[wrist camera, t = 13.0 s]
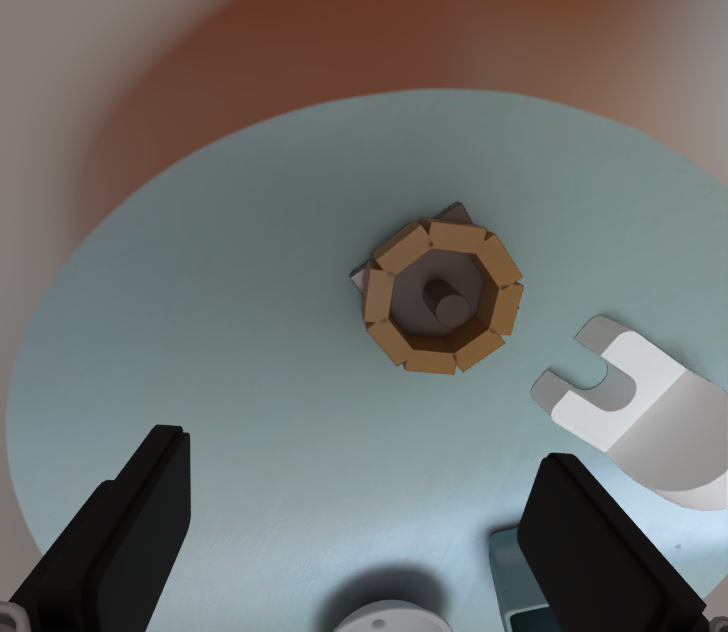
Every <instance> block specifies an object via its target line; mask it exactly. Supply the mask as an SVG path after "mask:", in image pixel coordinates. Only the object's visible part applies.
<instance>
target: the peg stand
mask: <svg viewBox="0 0 728 632" xmlns="http://www.w3.org/2000/svg"><path fill="white" fill-rule="evenodd" d="M432 219H438V220H446V221H454V222H462V223H470V224H473V223H472V221H471V219H470V217H469V215H468V214H467V212H466V210H465V208H464V206H463V204H462V203H459V202H456V203H455V204H453V205H452V206H450V207H449V208H447V209H446V210H444V211H443V212H441V213H440V214H438V215H437V216H435V217H434V218H432ZM370 261H374V262H376V260H375V258H373V259H371V260H370ZM366 267H367V263H365V264H364V265H362V266H361V267H359V268H358V269H356V270H355V271H354V272H352V273H351V274H350V278H351V280H352V281H353V283H354V284H355V286H356V287H357V288H358V290H359V291H360V293H361V294H362V296H363V291H364V283H365V275H366ZM484 279H485V278H484V277H483V275H482V274H481V273H480V271H479V270H478V268H477V267H476V265H475V264H474V262H473V261H472V259H471V258H470V256H469V255H468V254H467V253H464V252H456V251H447V250H439V249H430V250H429V251H428V252H426V253H425V254H424V255H422V256H421V257H420V258H419V259H417V260H416V261H415V262H413V263H412V264H411V265H409V266H408V267H407V268H406V269H404V270H403V271H402V272H400V273H399V274H398V275H396V276H395V279H394V286H393V292H392V299H391V306H390V312H389V313H390V315H391V316H392V317H393V318H394V320H395V321H396V322H397V323H398V325H399V326H400V327H401V328H402V329H403V331H404V332H405V333H406V334H407V335H412V336H422V337H433V338H446V337H447V336H448V335H450V334H451V333H453V332H454V331H455V330H457V329H458V328H460V327H461V326H462V325H464V324H465V323H467V322H468V321H469V320H471V319H472V318H474V317H475V316H476V314H477V309H478V305H479V301H480V296H481V292H482V288H483V283H484ZM518 309H519V306H518Z"/></svg>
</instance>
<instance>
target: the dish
mask: <svg viewBox="0 0 728 632" xmlns="http://www.w3.org/2000/svg"><path fill="white" fill-rule="evenodd" d="M333 632H453V631H452V629H451V627H450V625H449V624H448V623H447V622H446V621H445V620H444V619H443V618H442V617H440V616H439V615H437V614H436V613H434V612H431V611H429V610H426V609H423V608H421V607H420V606H417V605H415V604H413V603H410V602H406V601H402V600H381V601H377V602H373V603H370V604H367V605H365V606H363V607H361V608H359V609H358V610H356V611H354V612H353V613H352V614H350V615H349V616H348V617H346V618H345V619H344V620H343V621H342V622H341V623H340V624H339V625H338V626H337V627H336V628H335V630H334V631H333Z"/></svg>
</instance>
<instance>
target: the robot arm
mask: <svg viewBox="0 0 728 632" xmlns="http://www.w3.org/2000/svg"><path fill="white" fill-rule="evenodd" d="M190 519H191V483H190V435H189V433H184V432H183V429H182V427H181V426H172V425H155V426H154V427H153V429H152V430H151V431H150V433H149V434H148V435H147V437H146V438H145V439H144V441H143V442H142V444H141V445H140V446H139V448H138V449H137V450H136V452H135V453H134V454H133V456H132V457H131V458H130V460H129V461H128V462H127V464H126V465H125V466H124V468H123V469H122V470H121V472H120V473H119V475H118V476H117V477H116V479H115V480H106V481H104V482H102V483H101V484H100V485H99V486H98V487H97V488H96V490H95V491H94V492H93V493H92V495H91V496H90V497H89V499H88V500H87V501H86V502H85V504H84V505H83V506H82V508H81V509H80V510H79V511H78V513H77V514H76V515H75V517H74V518H73V519H72V520H71V522H70V523H69V524H68V526H67V527H66V528H65V529H64V531H63V532H62V533H61V535H60V536H59V537H58V538H57V540H56V541H55V542H54V543H53V545H52V546H51V547H50V549H49V550H48V551H47V552H46V554H45V555H44V556H43V558H42V559H41V560H40V562H39V563H38V564H37V565H36V567H35V568H34V569H33V570H32V572H31V573H30V574H29V576H28V577H27V578H26V579H25V581H24V582H23V583H22V585H21V586H20V587H19V588H18V590H17V591H16V592H15V594H14V595H13V596H12V597H11V599H10V600H9V601H8V602H2V601H1V602H0V632H145V631H146V629H147V626H148V624H149V622H150V619H151V617H152V614H153V612H154V610H155V607H156V605H157V603H158V600H159V598H160V595H161V593H162V591H163V588H164V586H165V584H166V581H167V579H168V577H169V574H170V572H171V569H172V567H173V565H174V562H175V560H176V558H177V555H178V553H179V551H180V548H181V546H182V543H183V541H184V539H185V536H186V534H187V531H188V528H189V524H190ZM517 542H518V545H519V547H520V549H521V551H522V553H523V555H524V557H525V559H526V561H527V563H528V565H529V567H530V569H531V571H532V573H533V575H534V577H535V579H536V581H537V583H538V585H539V587H540V589H541V591H542V593H543V595H544V597H545V599H546V601H547V603H548V605H549V607H550V609H551V611H552V613H553V615H554V617H555V619H556V621H557V623H558V625H559V627H560V629H561V631H562V632H728V617H725V616H722V617H714V618H713V619H712V620H711V621H710V622H709V621H708V620H707V619H706V618H705V616H704V615H703V614H702V612H703V611H704V609H705V607H706V606H707V605H706V604H705V603H704V602H703V600H702V599H701V598H700V597H699V596H698V595H697V594H696V592H695V591H694V590H693V589H692V588H691V587H690V586H689V584H688V583H687V582H686V581H685V580H684V579H683V578H682V577H681V575H680V574H679V573H678V572H677V571H676V570H675V569H674V567H673V566H672V565H671V564H670V563H669V562H668V561H667V559H666V558H665V557H664V556H663V555H662V554H661V553H660V551H659V550H658V549H657V548H656V547H655V546H654V545H653V543H652V542H651V541H650V540H649V539H648V538H647V537H646V535H645V534H644V533H643V532H642V531H641V530H640V529H639V528H638V526H637V525H636V524H635V523H634V522H633V521H632V520H631V518H630V517H629V516H628V515H627V514H626V513H625V512H624V510H623V509H622V508H621V507H620V506H619V505H618V504H617V502H616V501H615V500H614V499H613V498H612V497H611V496H610V494H609V493H608V492H607V491H606V490H605V489H604V488H603V486H602V485H601V484H600V483H599V482H598V481H597V480H596V478H595V477H594V476H593V475H592V474H591V473H590V472H589V471H588V469H587V468H586V467H585V466H584V465H583V464H582V463H581V461H580V460H579V459H578V458H577V457H576V456H575V455H573V454H566V453H550V454H549V455H548V456H547V458H544V459H542V461H541V464H540V467H539V470H538V472H537V475H536V478H535V481H534V484H533V487H532V490H531V492H530V495H529V498H528V501H527V504H526V507H525V509H524V512H523V515H522V518H521V521H520V524H519V527H518V529H517Z"/></svg>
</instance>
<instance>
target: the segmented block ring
mask: <svg viewBox="0 0 728 632" xmlns="http://www.w3.org/2000/svg"><path fill="white" fill-rule="evenodd" d="M486 230H487V228H484V227H481V226H478V225H475V224H470V223H462V222H454V221H446V220H438V219H430V218H422V222H421V224H419V223H417V222H415V221H412V222H410V223H409V224H408V225H407V226H405V227H404V228H403V229H402V230H400V231H399V232H398V233H396V234H395V235H394V236H393V237H391V238H390V239H389V240H388V241H386V242H385V243H384V244H383V245H381V246H380V247H379V248H377V249H376V250H375V251H374V252H373V253H372V254H373V256H374V258H375V260H376V262H374V261H367V267H366V275H365V283H364V291H363V299H362V307H361V309H362V315H363V321H364V322H365V326H366V331H367V332H368V333H369V334H370V335H371V337H372V338H373V339H374V340H375V341H376V342H377V344H378V345H379V346H380V347H381V348H382V350H383V351H384V352H385V353H386V354H387V355H388V357H389V358H390V359H391V360H392V361H393V362H394V364H395V365H396V366H399V365H400V364H402V363H403V366H404V369H405V371H415V372H427V373H439V374H451V375H454V373H455V369H456V364H457V366H458V367H459V368H460V370H461V371H462V372H464V371H466V370H467V369H469V368H470V367H471V366H473V365H474V364H476V363H477V362H479V361H480V360H482V359H483V358H484V357H486V356H487V355H489V354H490V353H492V352H493V351H495V350H496V349H497V348H499V347H500V346H502V345H503V344H505V342H504V340H503V339H502V337H501V336H500V335H499V334H501V335H511V332H512V329H513V325H514V321H515V317H516V314H517V310H518V306H519V302H520V299H521V295H522V291H523V287H524V286H523V285H521V284H520V283H518V282H516V281H518V280H519V279H520V278H522V277H523V276H522V275H521V273H520V271H519V270H518V268H517V267H516V265H515V264H514V262H513V261H512V259H511V257H510V256H509V254H508V253H507V251H506V250H505V248H504V247H503V245H502V243H501V242H500V240H499V239H498V237H497V236H496V234H495V233H492V232H489V231H486ZM430 249H439V250H447V251H456V252H464V253H467V254H468V255H469V256H470V258H471V259H472V261H473V262H474V264H475V265H476V267H477V268H478V270H479V271H480V273H481V274H482V275H483V277H484V278H485V279H484V283H483V288H482V292H481V296H480V301H479V305H478V309H477V314H476V316H475V317H474V318H472V319H471V320H469V321H468V322H467V323H465V324H464V325H462V326H461V327H460V328H458V329H457V330H455V331H454V332H453V333H451V334H450V335H448V336H447V337H446V338H433V337H422V336H412V335H407V334H406V333H405V332H404V331H403V329H402V328H401V327H400V326H399V325H398V323H397V322H396V321H395V320H394V318H393V317H392V316H391V315H390V313H389V312H390V306H391V299H392V292H393V286H394V279H395V276H396V275H398V274H399V273H400V272H402V271H403V270H404V269H406V268H407V267H408V266H409V265H411V264H412V263H413V262H415V261H416V260H417V259H419V258H420V257H421V256H422V255H424V254H425V253H426V252H428V251H429V250H430Z"/></svg>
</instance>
